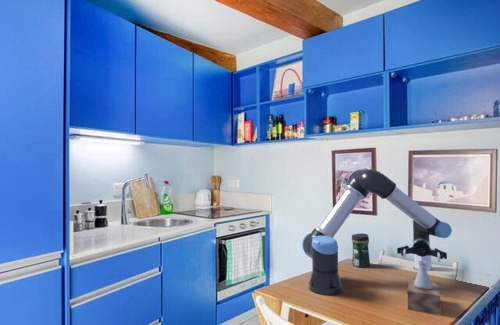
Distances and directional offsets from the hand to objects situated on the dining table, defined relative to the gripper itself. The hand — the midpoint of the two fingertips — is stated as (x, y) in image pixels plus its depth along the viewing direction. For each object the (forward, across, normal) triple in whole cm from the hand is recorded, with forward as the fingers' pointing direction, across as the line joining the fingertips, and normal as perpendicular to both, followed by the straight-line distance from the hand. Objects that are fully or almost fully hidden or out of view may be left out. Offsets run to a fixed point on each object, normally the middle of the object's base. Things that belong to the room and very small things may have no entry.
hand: (421, 256), depth 139 cm
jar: (-45, 0, -16) cm, 48 cm away
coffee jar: (-35, +32, -17) cm, 50 cm away
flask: (+12, -1, -10) cm, 15 cm away
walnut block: (+12, -1, -16) cm, 20 cm away
